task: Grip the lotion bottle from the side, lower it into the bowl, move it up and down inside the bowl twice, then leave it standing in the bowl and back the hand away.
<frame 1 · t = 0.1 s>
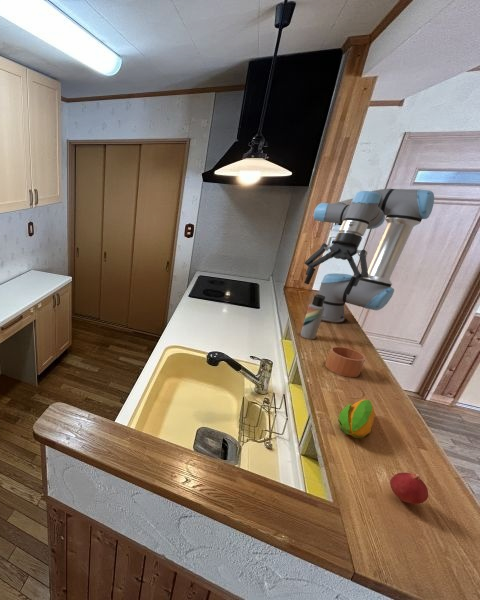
hand: (325, 288, 123), 28 cm above the worktop, tool tilted 20°, fingers open, 13 cm apart
lotion bottle: (307, 336, 146), on the worktop
onion: (401, 500, 72), on the worktop
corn: (354, 424, 94), on the worktop
bowl: (341, 369, 121), on the worktop
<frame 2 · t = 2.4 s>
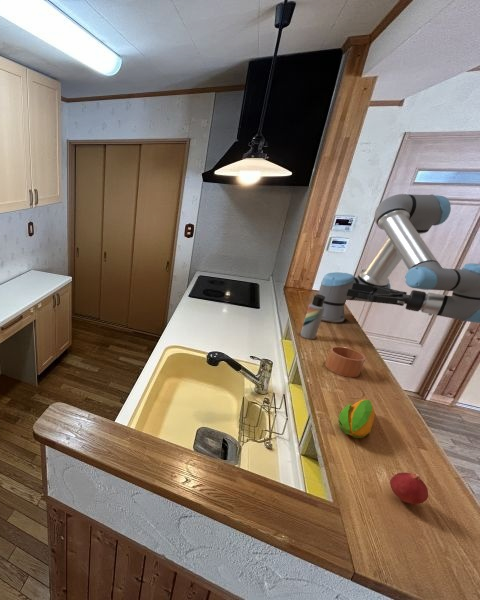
hand: (350, 288, 132), 25 cm above the worktop, tool horizontal, fingers open, 13 cm apart
nothing on the worktop moved.
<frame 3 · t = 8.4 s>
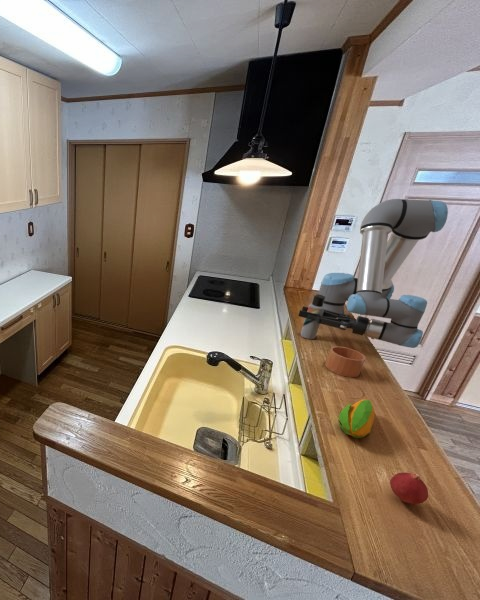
hand: (300, 311, 146), 11 cm above the worktop, tool horizontal, fingers closed on lotion bottle, 6 cm apart
lotion bottle: (307, 336, 146), on the worktop, touching gripper
everything else where it was.
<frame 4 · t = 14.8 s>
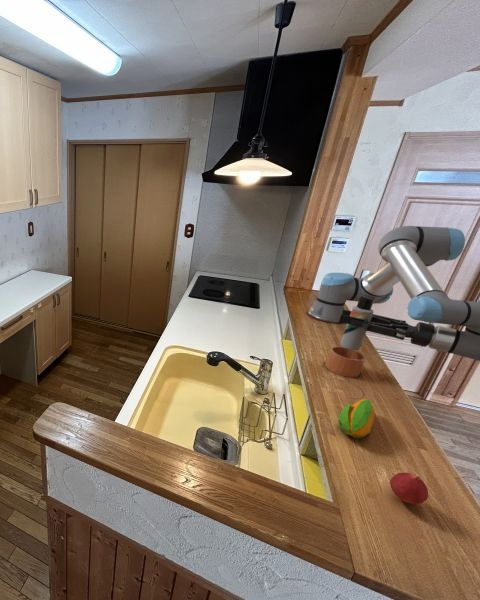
hand: (341, 315, 118), 20 cm above the worktop, tool horizontal, fingers closed on lotion bottle, 6 cm apart
lotion bottle: (349, 347, 118), point 9 cm above the worktop, touching gripper
everything else where it was.
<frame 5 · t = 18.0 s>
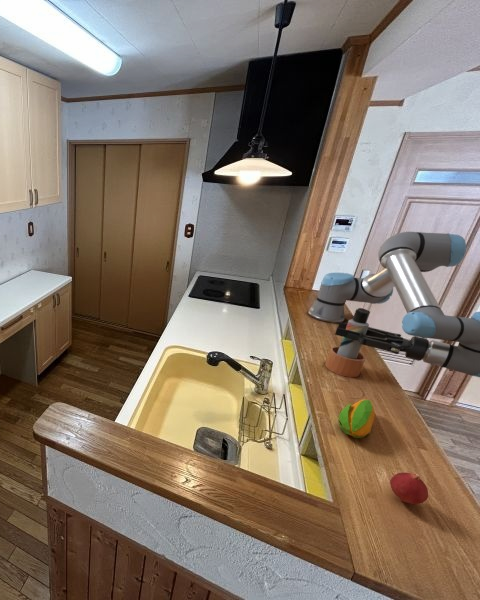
hand: (337, 328, 119), 15 cm above the worktop, tool horizontal, fingers closed on lotion bottle, 6 cm apart
lotion bottle: (345, 359, 120), point 4 cm above the worktop, touching gripper
everything else where it was.
when the fingers open (12 cm above the worktop, at t = 21.3 s): lotion bottle stays where it is, resting on bowl.
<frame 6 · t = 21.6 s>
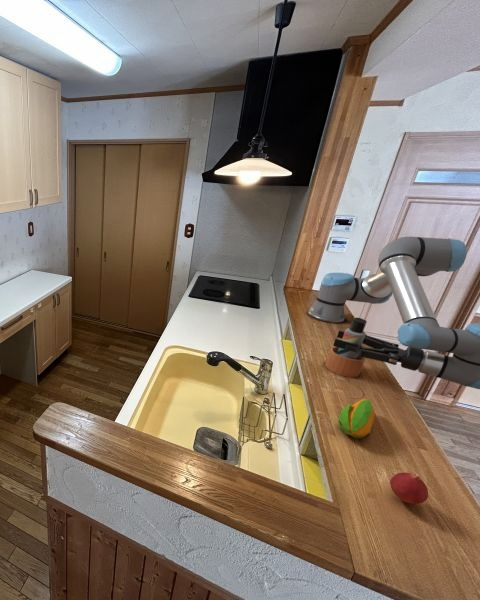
hand: (336, 337, 120), 12 cm above the worktop, tool horizontal, fingers open, 9 cm apart
lotion bottle: (342, 367, 121), point 1 cm above the worktop, touching bowl
everything else where it was.
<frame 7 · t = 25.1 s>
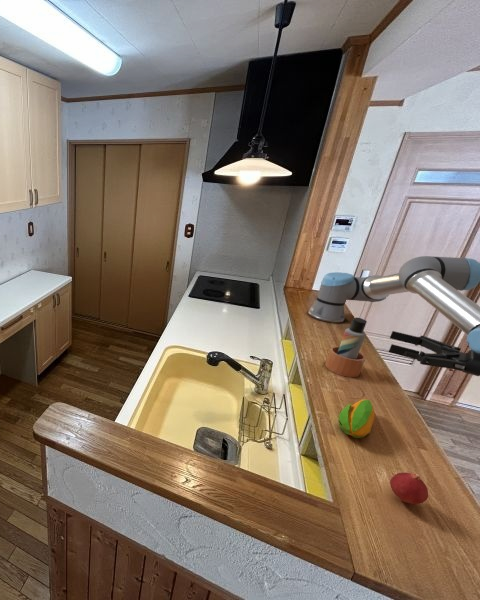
hand: (390, 341, 110), 16 cm above the worktop, tool horizontal, fingers open, 13 cm apart
nothing on the worktop moved.
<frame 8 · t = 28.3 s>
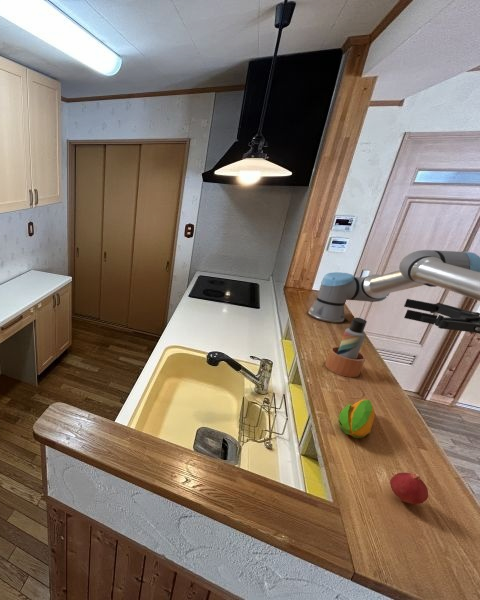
hand: (405, 307, 105), 28 cm above the worktop, tool horizontal, fingers open, 13 cm apart
nothing on the worktop moved.
at the end: lotion bottle 0.1 cm off-centre in the bowl, point 0.6 cm above the bowl's base; lotion bottle tilted 0°; the gripper is holding nothing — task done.
